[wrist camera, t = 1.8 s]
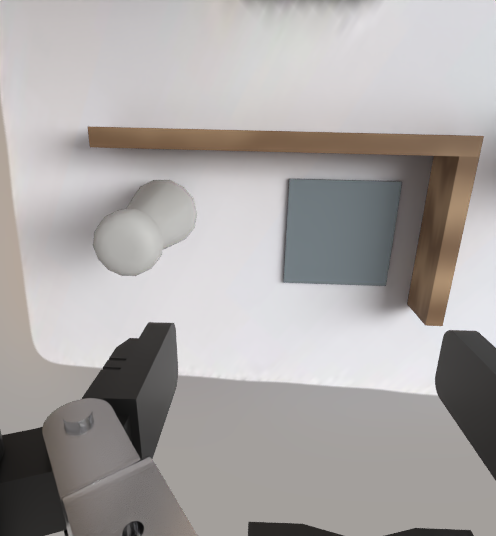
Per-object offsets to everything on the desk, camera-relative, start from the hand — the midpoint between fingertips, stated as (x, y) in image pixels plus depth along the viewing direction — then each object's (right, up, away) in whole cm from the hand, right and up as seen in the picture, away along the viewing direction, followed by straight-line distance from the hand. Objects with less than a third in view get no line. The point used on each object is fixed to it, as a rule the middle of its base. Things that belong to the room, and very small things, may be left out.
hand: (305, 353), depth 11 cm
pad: (+7, +6, +25) cm, 26 cm away
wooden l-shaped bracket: (+1, +7, +24) cm, 25 cm away
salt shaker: (-9, +8, +25) cm, 27 cm away
